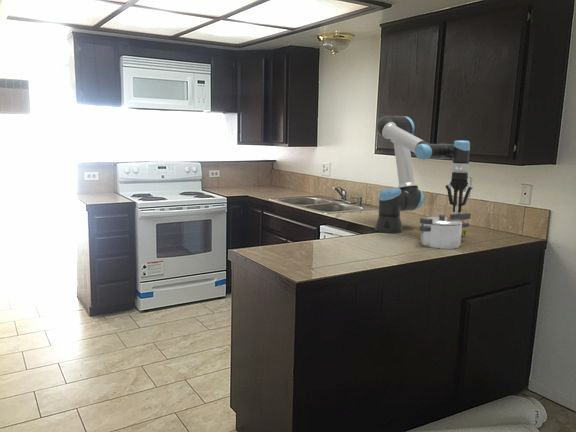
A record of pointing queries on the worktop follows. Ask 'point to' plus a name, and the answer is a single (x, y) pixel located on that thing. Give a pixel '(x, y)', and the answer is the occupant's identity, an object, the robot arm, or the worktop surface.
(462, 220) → the bird rattle
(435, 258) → the worktop surface
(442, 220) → the lid
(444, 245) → the pot
